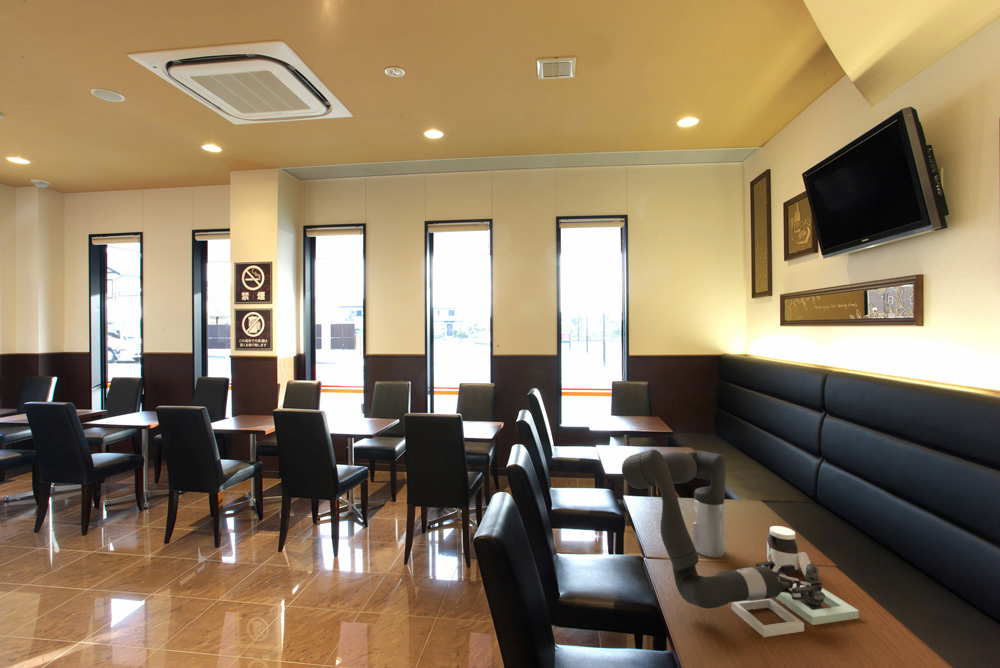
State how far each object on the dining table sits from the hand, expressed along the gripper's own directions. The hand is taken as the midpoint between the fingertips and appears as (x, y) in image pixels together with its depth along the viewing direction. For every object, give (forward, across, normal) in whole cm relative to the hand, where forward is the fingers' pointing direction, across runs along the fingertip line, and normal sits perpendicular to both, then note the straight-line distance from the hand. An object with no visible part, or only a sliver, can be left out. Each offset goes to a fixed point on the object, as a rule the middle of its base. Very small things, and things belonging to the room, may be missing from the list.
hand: (806, 576), depth 123 cm
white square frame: (-15, -3, +8) cm, 17 cm away
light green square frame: (+2, 0, +8) cm, 8 cm away
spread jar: (+11, +17, +8) cm, 22 cm away
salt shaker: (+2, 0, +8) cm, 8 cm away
